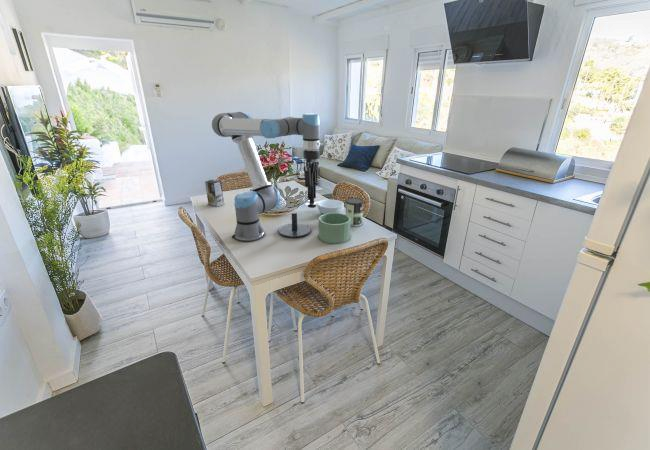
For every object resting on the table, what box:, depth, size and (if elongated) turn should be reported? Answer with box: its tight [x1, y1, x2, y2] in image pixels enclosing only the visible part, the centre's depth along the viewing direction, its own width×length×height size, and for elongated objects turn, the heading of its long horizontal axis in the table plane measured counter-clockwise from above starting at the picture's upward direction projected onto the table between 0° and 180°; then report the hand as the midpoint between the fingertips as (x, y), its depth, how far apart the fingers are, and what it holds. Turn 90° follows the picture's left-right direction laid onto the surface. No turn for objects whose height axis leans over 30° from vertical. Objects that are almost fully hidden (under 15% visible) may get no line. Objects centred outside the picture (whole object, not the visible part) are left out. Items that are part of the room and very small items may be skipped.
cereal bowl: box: [316, 198, 345, 215], centre depth 198 cm, size 17×17×7 cm
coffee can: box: [344, 197, 364, 227], centre depth 183 cm, size 10×10×14 cm
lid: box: [278, 211, 312, 238], centre depth 172 cm, size 18×18×11 cm
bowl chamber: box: [318, 212, 351, 244], centre depth 167 cm, size 17×17×10 cm
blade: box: [304, 180, 319, 209], centre depth 151 cm, size 7×7×13 cm
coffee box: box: [204, 179, 225, 207], centre depth 211 cm, size 9×6×16 cm
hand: (311, 198), depth 152 cm, fingers closed on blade, 2 cm apart
